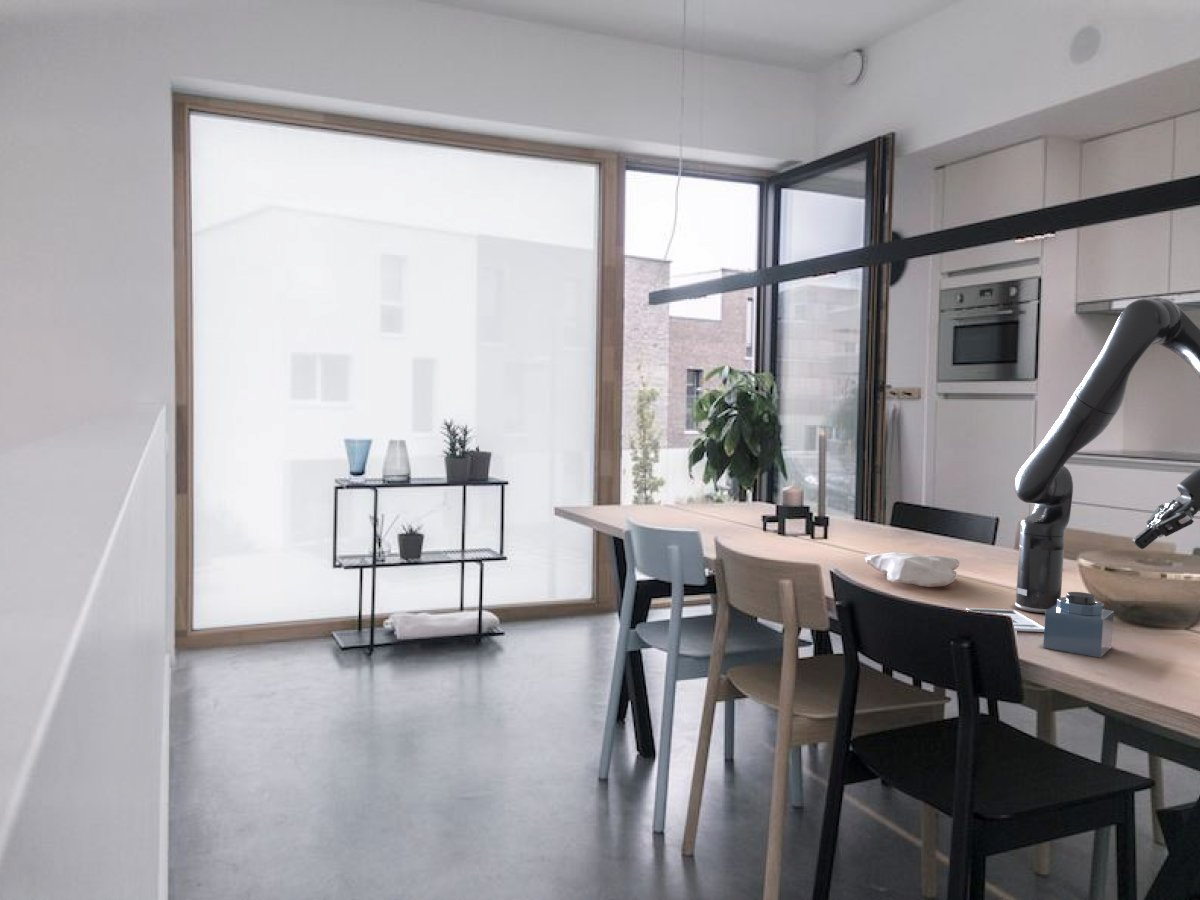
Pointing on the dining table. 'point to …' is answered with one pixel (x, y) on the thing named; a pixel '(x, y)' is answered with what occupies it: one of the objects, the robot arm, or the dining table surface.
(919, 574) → the rock
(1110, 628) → the blue-grey box with cap
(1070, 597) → the button
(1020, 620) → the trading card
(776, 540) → the dining table surface
